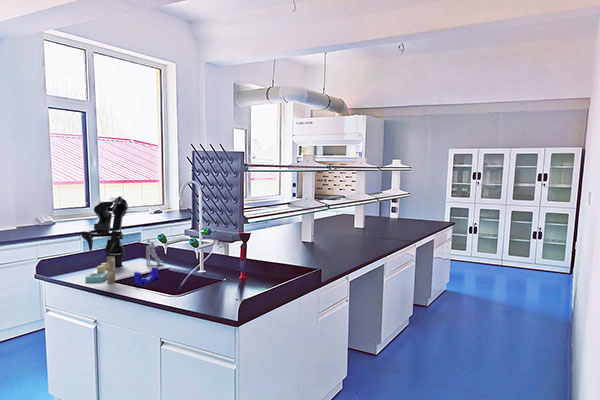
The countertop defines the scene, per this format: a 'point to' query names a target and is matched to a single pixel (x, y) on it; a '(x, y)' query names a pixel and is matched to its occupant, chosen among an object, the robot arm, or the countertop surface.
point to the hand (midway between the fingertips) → (100, 250)
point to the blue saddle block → (151, 277)
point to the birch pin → (110, 269)
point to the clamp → (152, 254)
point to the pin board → (98, 274)
